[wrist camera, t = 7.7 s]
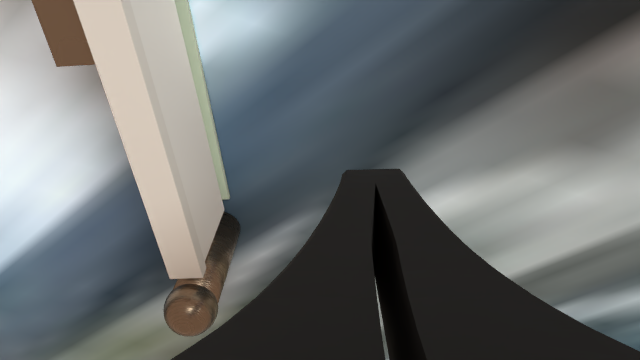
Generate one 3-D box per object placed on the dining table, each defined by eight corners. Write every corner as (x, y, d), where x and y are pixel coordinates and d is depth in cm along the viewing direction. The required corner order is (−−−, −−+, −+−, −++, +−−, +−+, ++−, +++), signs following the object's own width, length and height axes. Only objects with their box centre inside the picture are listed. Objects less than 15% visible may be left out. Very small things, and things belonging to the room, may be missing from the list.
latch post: (137, -38, 18) (75, -17, 14) (153, 26, 19) (101, 64, 15) (99, -36, 18) (26, -13, 14) (118, 28, 19) (57, 66, 15)
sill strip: (179, -40, 18) (177, -40, 17) (230, 197, 23) (229, 199, 23) (138, -37, 18) (136, -36, 18) (198, 198, 23) (197, 200, 23)
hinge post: (238, 209, 24) (204, 310, 18) (245, 242, 25) (215, 347, 19) (196, 210, 24) (149, 311, 18) (205, 243, 25) (163, 348, 19)
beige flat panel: (227, 212, 23) (202, 277, 19) (199, 213, 23) (169, 279, 19) (164, -53, 17) (110, -35, 13) (127, -49, 17) (62, -31, 13)
